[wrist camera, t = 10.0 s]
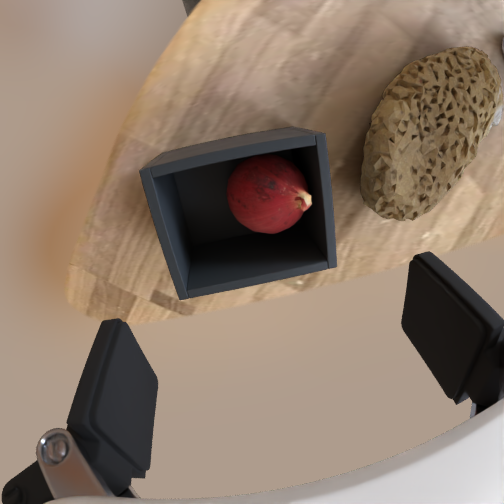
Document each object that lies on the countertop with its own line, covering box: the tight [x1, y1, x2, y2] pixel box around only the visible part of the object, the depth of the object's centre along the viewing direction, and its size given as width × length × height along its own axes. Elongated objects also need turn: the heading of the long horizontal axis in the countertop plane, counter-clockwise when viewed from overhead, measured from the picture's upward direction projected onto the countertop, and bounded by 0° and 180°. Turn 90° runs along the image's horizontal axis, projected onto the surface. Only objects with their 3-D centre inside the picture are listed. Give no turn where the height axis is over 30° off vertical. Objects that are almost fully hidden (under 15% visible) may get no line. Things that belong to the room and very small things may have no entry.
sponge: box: [360, 47, 504, 221], centre depth 22 cm, size 13×8×20 cm
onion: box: [226, 154, 312, 234], centre depth 22 cm, size 6×6×8 cm
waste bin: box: [139, 127, 337, 300], centre depth 23 cm, size 11×9×8 cm
